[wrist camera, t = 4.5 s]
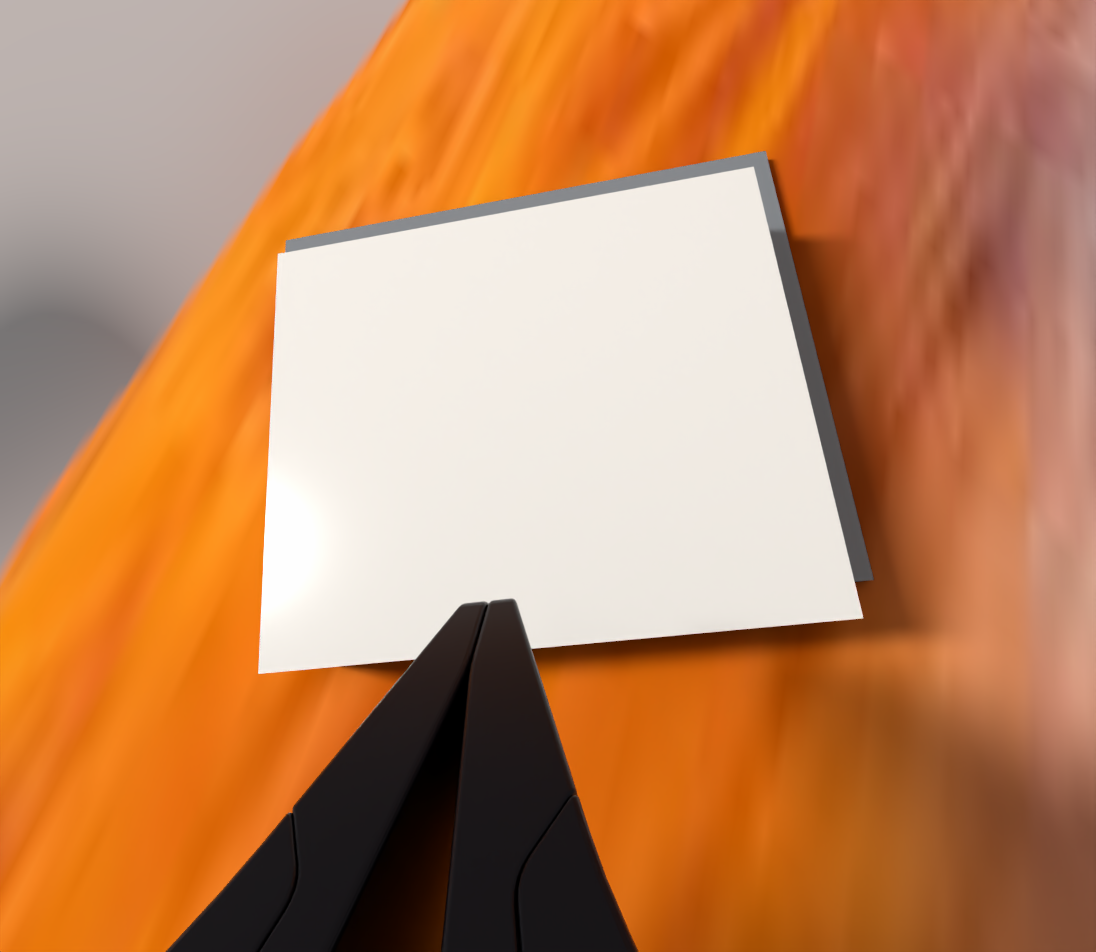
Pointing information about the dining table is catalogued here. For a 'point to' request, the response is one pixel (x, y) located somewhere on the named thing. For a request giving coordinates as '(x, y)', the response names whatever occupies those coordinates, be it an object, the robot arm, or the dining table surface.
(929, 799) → the dining table surface
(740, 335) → the tile
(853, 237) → the dining table surface
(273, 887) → the robot arm
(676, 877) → the dining table surface
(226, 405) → the dining table surface
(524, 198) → the slate mat
